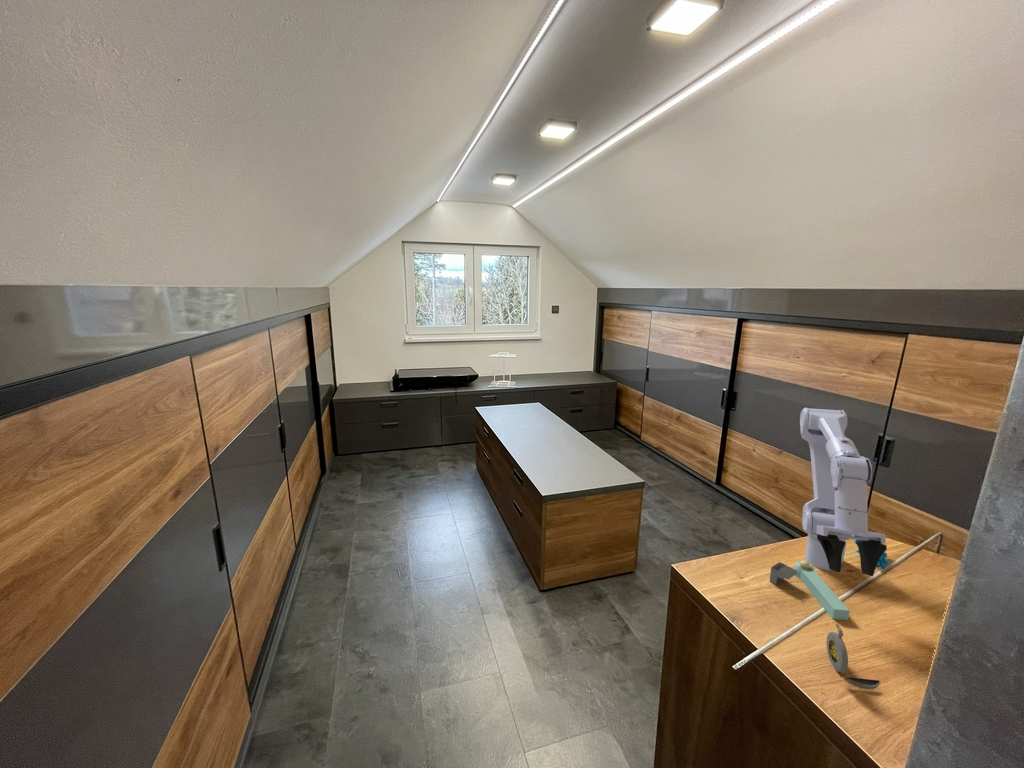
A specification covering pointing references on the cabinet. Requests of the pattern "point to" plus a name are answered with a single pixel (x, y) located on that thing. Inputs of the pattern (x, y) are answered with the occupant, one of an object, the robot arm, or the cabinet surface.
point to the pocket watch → (844, 659)
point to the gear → (881, 561)
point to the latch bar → (821, 591)
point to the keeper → (781, 573)
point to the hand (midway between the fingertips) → (851, 572)
